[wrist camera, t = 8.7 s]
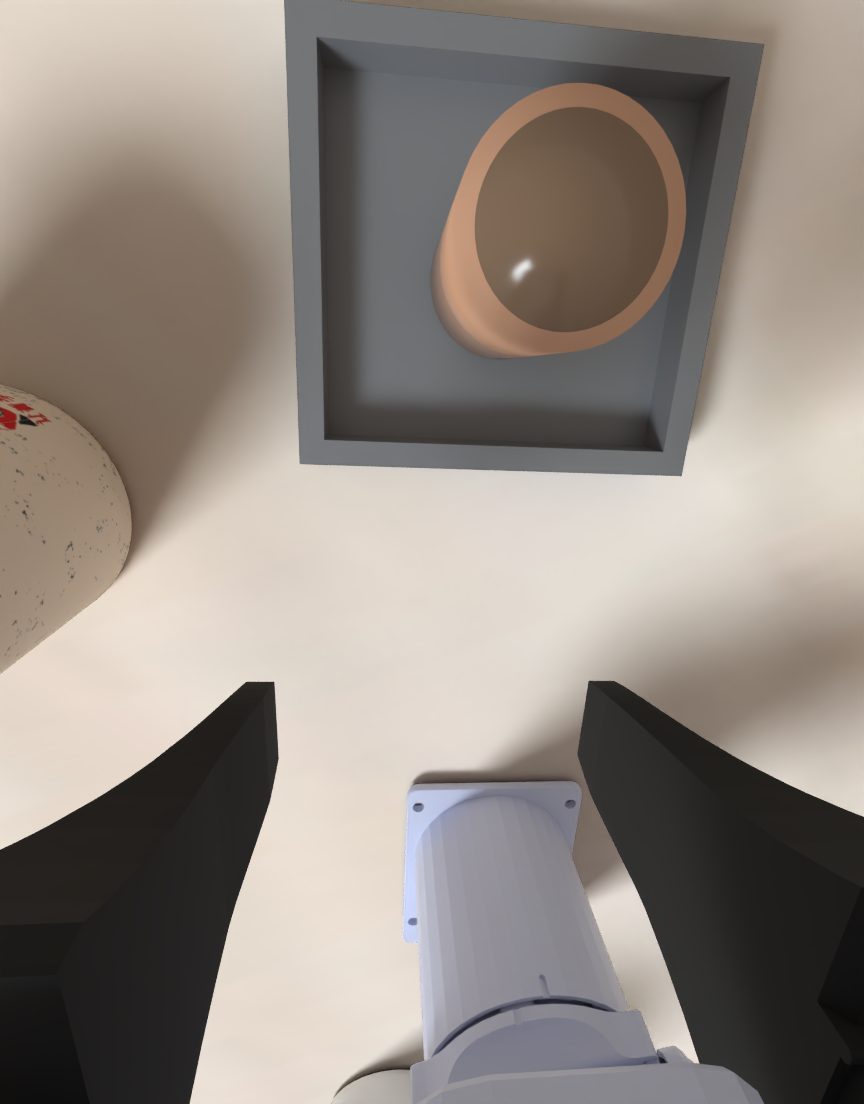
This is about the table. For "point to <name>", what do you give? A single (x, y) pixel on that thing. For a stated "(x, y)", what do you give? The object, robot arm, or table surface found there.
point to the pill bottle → (378, 1089)
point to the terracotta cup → (560, 226)
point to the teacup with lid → (53, 521)
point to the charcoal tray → (419, 218)
